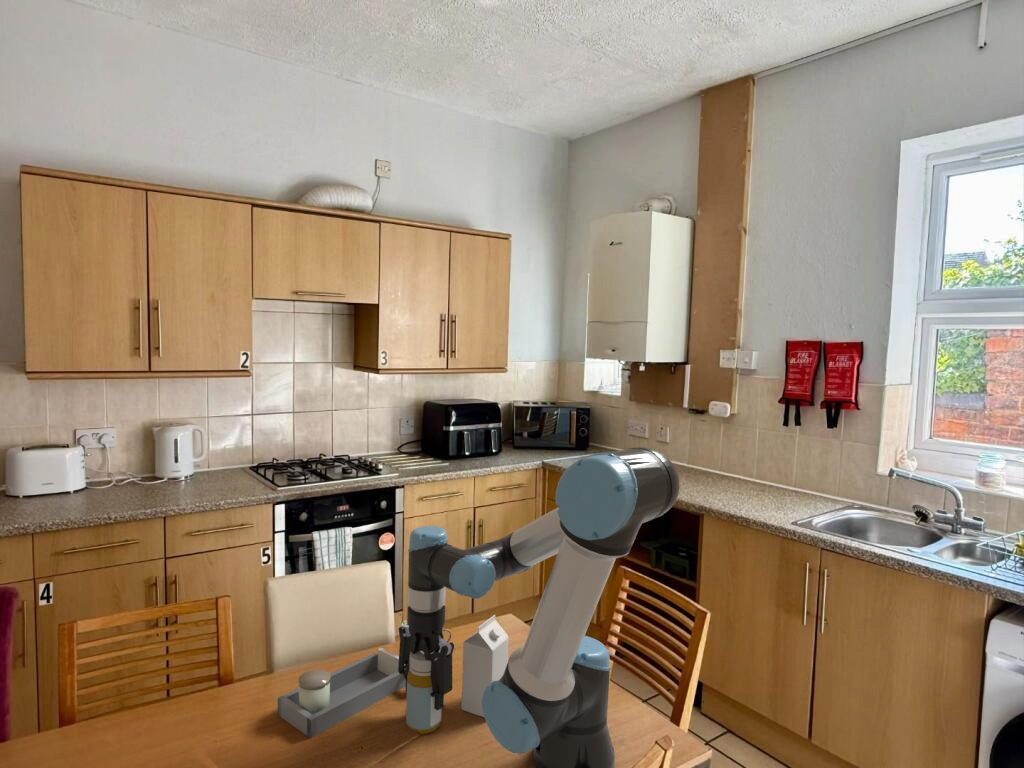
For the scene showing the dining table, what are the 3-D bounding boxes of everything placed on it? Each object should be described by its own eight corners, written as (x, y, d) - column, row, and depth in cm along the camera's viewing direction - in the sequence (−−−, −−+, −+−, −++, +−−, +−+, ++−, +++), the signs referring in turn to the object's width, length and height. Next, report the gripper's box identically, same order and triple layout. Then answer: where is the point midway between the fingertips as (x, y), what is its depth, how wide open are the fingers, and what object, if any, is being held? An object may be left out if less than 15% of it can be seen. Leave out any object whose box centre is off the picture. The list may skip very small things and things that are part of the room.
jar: (336, 714, 131) (336, 677, 130) (309, 728, 126) (310, 689, 125) (318, 703, 134) (318, 666, 134) (291, 716, 130) (292, 678, 129)
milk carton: (461, 710, 135) (463, 623, 134) (478, 694, 141) (481, 610, 140) (490, 720, 132) (493, 631, 130) (506, 703, 138) (509, 618, 137)
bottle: (434, 738, 125) (436, 664, 124) (400, 732, 127) (402, 659, 126) (445, 717, 132) (447, 647, 131) (413, 712, 134) (414, 643, 133)
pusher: (429, 691, 141) (429, 667, 140) (419, 697, 138) (419, 672, 138) (384, 667, 150) (384, 645, 150) (374, 672, 148) (374, 650, 147)
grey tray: (407, 688, 143) (408, 669, 142) (310, 741, 123) (310, 720, 123) (374, 670, 150) (374, 652, 149) (277, 718, 130) (277, 697, 130)
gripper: (474, 613, 125) (470, 726, 127) (408, 587, 136) (405, 691, 138) (447, 625, 119) (443, 744, 121) (381, 597, 131) (378, 706, 132)
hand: (423, 716), depth 129 cm, fingers closed on bottle, 6 cm apart
